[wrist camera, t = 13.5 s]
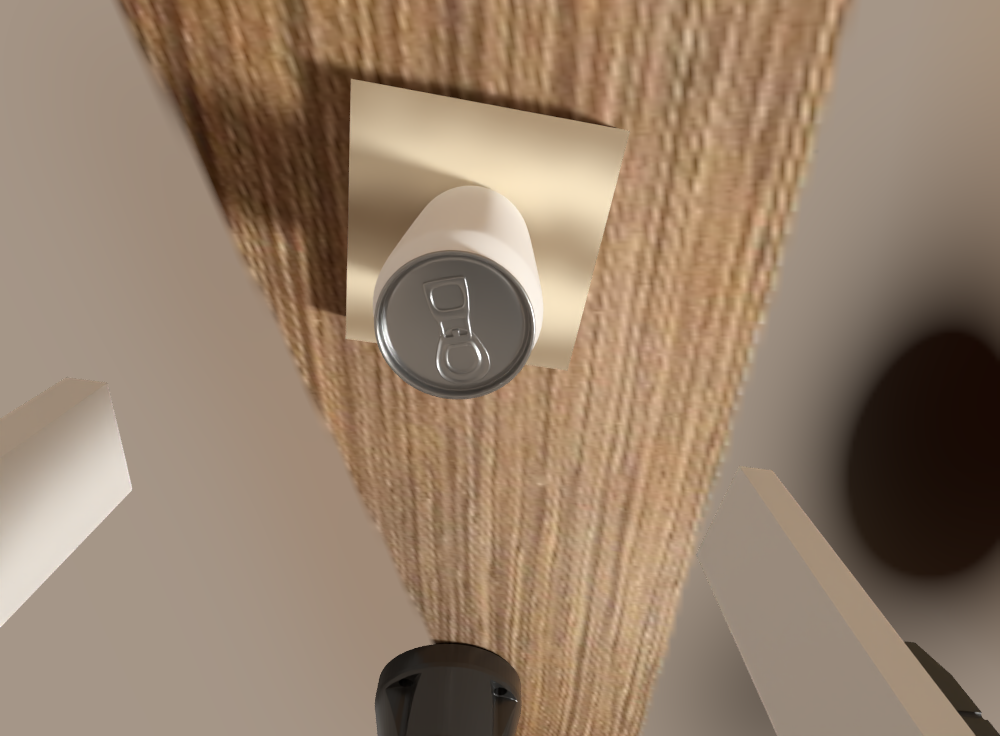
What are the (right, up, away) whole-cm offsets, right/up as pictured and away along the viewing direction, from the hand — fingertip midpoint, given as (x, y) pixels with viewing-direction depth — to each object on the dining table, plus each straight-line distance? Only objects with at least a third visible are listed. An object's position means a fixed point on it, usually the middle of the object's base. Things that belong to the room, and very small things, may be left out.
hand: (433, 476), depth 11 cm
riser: (0, +11, +20) cm, 22 cm away
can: (0, +9, +17) cm, 20 cm away
